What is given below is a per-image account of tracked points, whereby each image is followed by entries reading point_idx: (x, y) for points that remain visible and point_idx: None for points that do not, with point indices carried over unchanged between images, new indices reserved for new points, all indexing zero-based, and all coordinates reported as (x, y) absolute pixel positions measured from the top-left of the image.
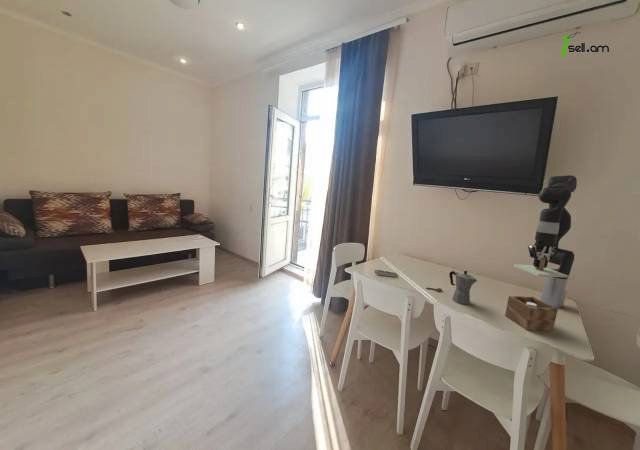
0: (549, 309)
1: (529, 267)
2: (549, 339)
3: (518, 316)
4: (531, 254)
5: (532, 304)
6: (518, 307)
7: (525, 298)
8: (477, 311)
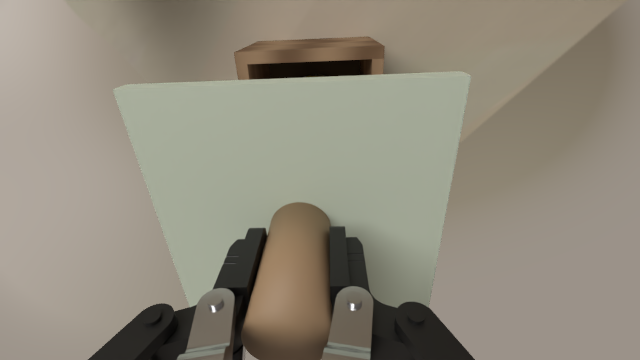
0: None
1: (241, 184)
2: None
3: None
4: (125, 354)
5: None
6: None
7: (327, 60)
8: (147, 10)
